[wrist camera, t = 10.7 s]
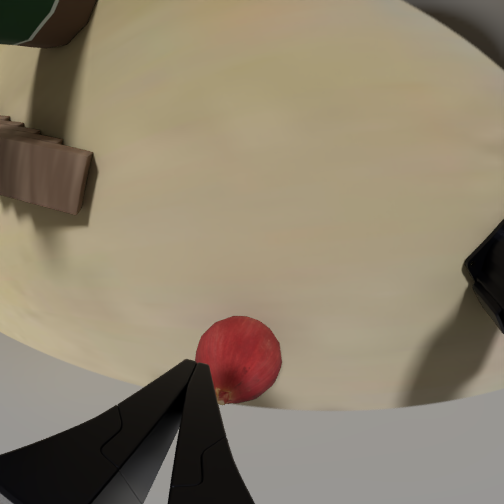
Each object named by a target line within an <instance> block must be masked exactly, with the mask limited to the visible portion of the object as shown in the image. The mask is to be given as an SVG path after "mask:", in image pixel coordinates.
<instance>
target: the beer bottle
mask: <svg viewBox="0 0 504 504" xmlns="http://www.w3.org/2000/svg"><path fill="white" fill-rule="evenodd" d="M95 3H96V0H0V44H7V45H18V46H27V47H37V48H51V47H56V46H62V45H66V44H68V43H69V42H70V41H71V39H72V38H73V37H74V36H75V35H76V34H77V33H78V32H79V31H80V30H81V29H82V28H83V27H84V26H85V25H86V24H87V23H88V20H89V17H90V15H91V12H92V10H93V7H94V5H95Z"/></svg>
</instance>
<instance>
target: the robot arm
mask: <svg viewBox="0 0 504 504" xmlns="http://www.w3.org/2000/svg"><path fill="white" fill-rule="evenodd" d="M472 261H473V263H472V265H470V263H471V262H472ZM465 265H466V268H467V269H468V271H469V273H470V275H471V277H472V278H473V280H474V282H475V283H474V284H473V290H474V292H475V293H476V295H477V297H478V299H479V301H480V303H481V305H482V307H483V308H484V309H485V311H486V312H487V313H488V314H489V316H490V317H491V318H492V320H493V321H494V322H495V324H496V325H497V326H498V328H499V329H500V330H501V332H502V333H503V334H504V220H503V221H502V222H501V223H500V224H499V225H498V226H497V228H496V229H495V230H494V231H493V232H492V233H491V234H490V235H489V236H488V237H487V238H486V240H485V241H484V242H483V243H482V244H481V245H480V246H479V247H478V248H477V249H476V250H475V251H474V252H473V253H472V254H471V255H470V256H469V257H468V258H467V259H466V262H465ZM179 427H180V428H179ZM178 429H179V434H178V439H177V445H176V452H175V458H174V465H173V471H172V477H171V484H170V491H169V498H168V504H255V503H254V501H253V499H252V497H251V495H250V493H249V491H248V489H247V488H246V486H245V484H244V482H243V480H242V478H241V476H240V473H239V471H238V469H237V467H236V464H235V462H234V459H233V457H232V453H231V451H230V447H229V444H228V440H227V438H226V433H225V430H224V426H223V422H222V418H221V414H220V410H219V405H218V401H217V397H216V393H215V389H214V384H213V380H212V375H211V371H210V366H209V365H208V364H204V363H200V362H198V363H197V362H196V361H193V360H189V359H185V360H184V361H182V362H181V363H179V364H178V365H176V366H175V367H173V368H172V369H170V370H169V371H168V372H166V373H165V374H163V375H162V376H160V377H159V378H157V379H156V380H154V381H153V382H151V383H150V384H148V385H147V386H145V387H144V388H142V389H141V390H139V391H138V392H136V393H134V394H133V395H132V396H130V397H128V398H127V399H125V400H124V401H122V402H121V403H119V404H118V406H117V405H115V406H114V407H112V408H110V409H109V410H107V411H105V412H104V413H102V414H100V415H99V416H97V417H95V418H93V419H91V420H89V421H86V422H84V423H82V424H80V425H78V426H75V427H73V428H70V429H69V430H66V431H63V432H61V433H58V434H56V435H54V436H51V437H49V438H46V439H43V440H41V441H38V442H35V443H33V444H30V445H27V446H24V447H22V448H19V449H16V450H13V451H10V452H7V453H4V454H1V455H0V504H143V503H144V501H145V499H146V497H147V495H148V492H149V490H150V488H151V486H152V484H153V482H154V480H155V478H156V476H157V474H158V471H159V469H160V467H161V465H162V463H163V461H164V459H165V457H166V455H167V452H168V450H169V448H170V446H171V444H172V442H173V440H174V437H175V435H176V433H177V431H178Z"/></svg>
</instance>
